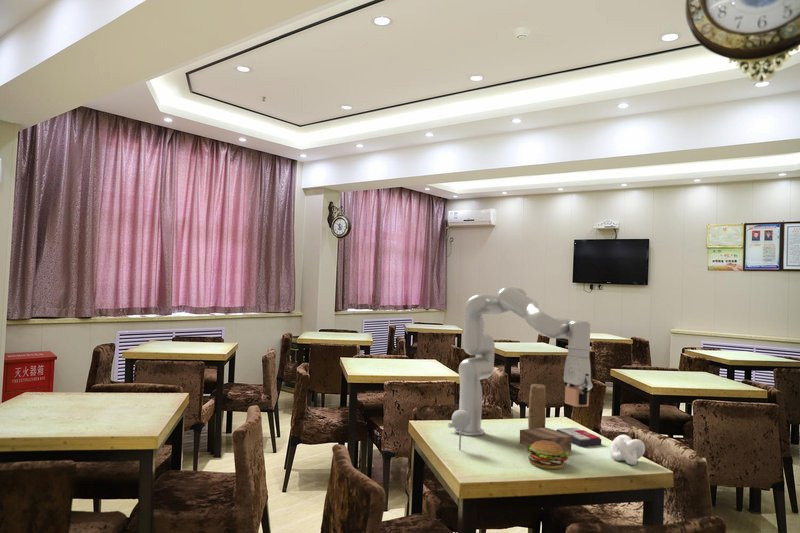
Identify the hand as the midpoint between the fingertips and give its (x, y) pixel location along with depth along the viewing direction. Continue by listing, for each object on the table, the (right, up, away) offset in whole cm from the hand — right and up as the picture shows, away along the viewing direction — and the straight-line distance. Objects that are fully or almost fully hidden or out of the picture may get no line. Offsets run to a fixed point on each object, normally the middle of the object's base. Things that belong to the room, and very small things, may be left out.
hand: (576, 402), depth 192 cm
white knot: (+18, -22, 0) cm, 28 cm away
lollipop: (-43, -19, +4) cm, 47 cm away
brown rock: (-4, -24, +42) cm, 48 cm away
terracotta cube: (0, -1, 0) cm, 1 cm away
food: (-13, -20, -8) cm, 25 cm away
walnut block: (-8, -22, +13) cm, 27 cm away
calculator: (+9, -24, +25) cm, 36 cm away
